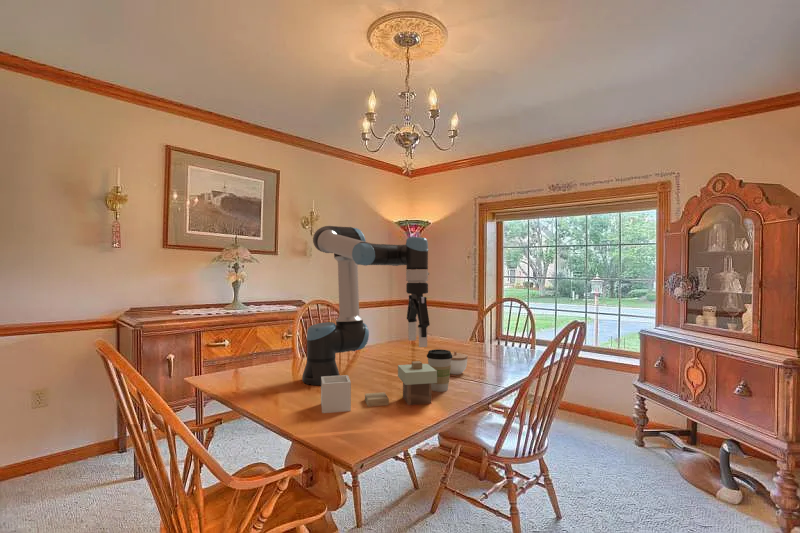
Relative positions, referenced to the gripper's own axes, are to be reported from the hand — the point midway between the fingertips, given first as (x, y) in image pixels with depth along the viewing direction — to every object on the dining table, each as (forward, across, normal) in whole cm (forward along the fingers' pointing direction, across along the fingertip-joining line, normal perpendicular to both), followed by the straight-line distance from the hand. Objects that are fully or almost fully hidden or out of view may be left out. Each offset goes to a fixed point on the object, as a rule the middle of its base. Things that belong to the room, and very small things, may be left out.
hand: (417, 343), depth 143 cm
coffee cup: (+21, +11, -12) cm, 26 cm away
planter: (+20, -1, +28) cm, 35 cm away
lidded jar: (+20, +36, -28) cm, 50 cm away
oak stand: (+20, +1, +14) cm, 25 cm away
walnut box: (+20, 0, 0) cm, 21 cm away
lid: (+12, 0, 0) cm, 13 cm away
